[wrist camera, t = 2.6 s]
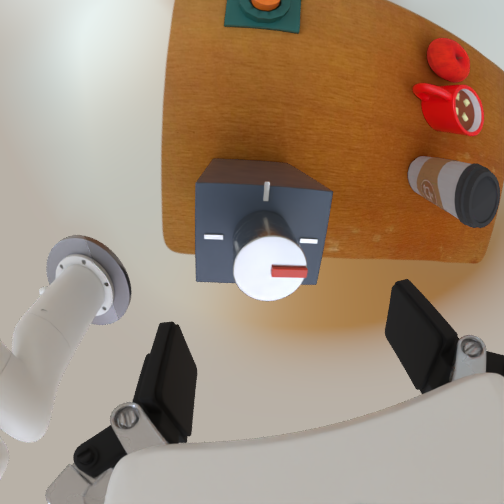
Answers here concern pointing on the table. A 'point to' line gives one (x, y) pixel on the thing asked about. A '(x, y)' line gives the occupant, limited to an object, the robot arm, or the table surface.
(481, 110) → the mug
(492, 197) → the coffee cup
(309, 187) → the tall knob tower
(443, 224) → the table surface
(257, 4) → the button
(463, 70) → the apple
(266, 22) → the push button base
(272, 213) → the dial
